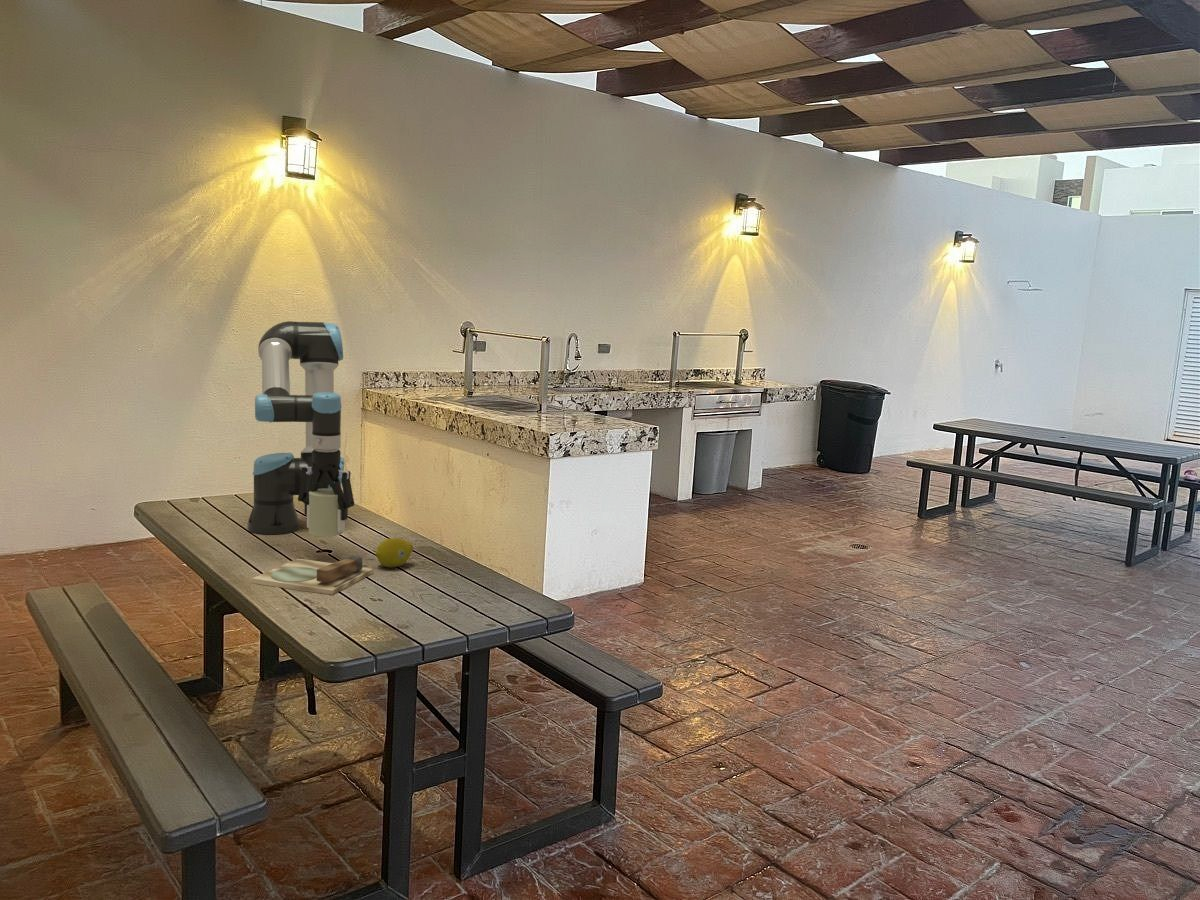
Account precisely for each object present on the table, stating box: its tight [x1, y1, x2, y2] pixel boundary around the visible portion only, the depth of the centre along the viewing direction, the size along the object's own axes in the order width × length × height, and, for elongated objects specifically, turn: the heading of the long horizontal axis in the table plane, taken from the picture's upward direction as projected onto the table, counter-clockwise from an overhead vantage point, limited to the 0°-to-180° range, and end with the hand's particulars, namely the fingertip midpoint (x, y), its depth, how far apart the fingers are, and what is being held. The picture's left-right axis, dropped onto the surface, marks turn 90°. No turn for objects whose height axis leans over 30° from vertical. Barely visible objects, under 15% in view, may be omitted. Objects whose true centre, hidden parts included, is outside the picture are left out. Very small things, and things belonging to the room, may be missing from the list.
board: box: [251, 558, 374, 596], centre depth 239 cm, size 20×23×2 cm
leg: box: [317, 555, 363, 583], centre depth 237 cm, size 15×4×3 cm, turn 158°
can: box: [308, 488, 344, 538], centre depth 254 cm, size 9×9×12 cm
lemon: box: [374, 537, 414, 569], centre depth 252 cm, size 11×8×8 cm
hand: (325, 528), depth 255 cm, fingers closed on can, 9 cm apart
